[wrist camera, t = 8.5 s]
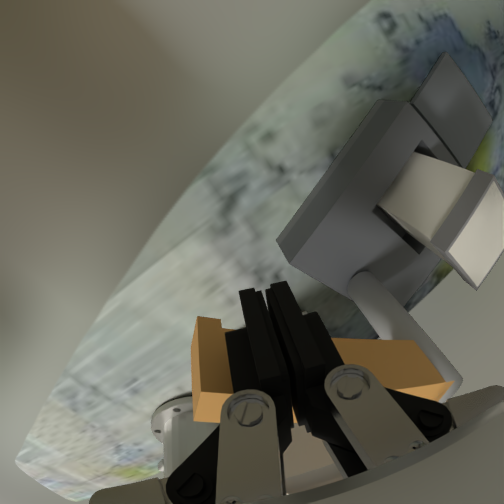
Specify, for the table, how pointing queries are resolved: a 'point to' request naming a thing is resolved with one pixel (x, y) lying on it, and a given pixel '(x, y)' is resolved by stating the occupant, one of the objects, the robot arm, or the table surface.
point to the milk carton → (307, 462)
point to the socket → (365, 208)
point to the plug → (449, 213)
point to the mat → (452, 110)
